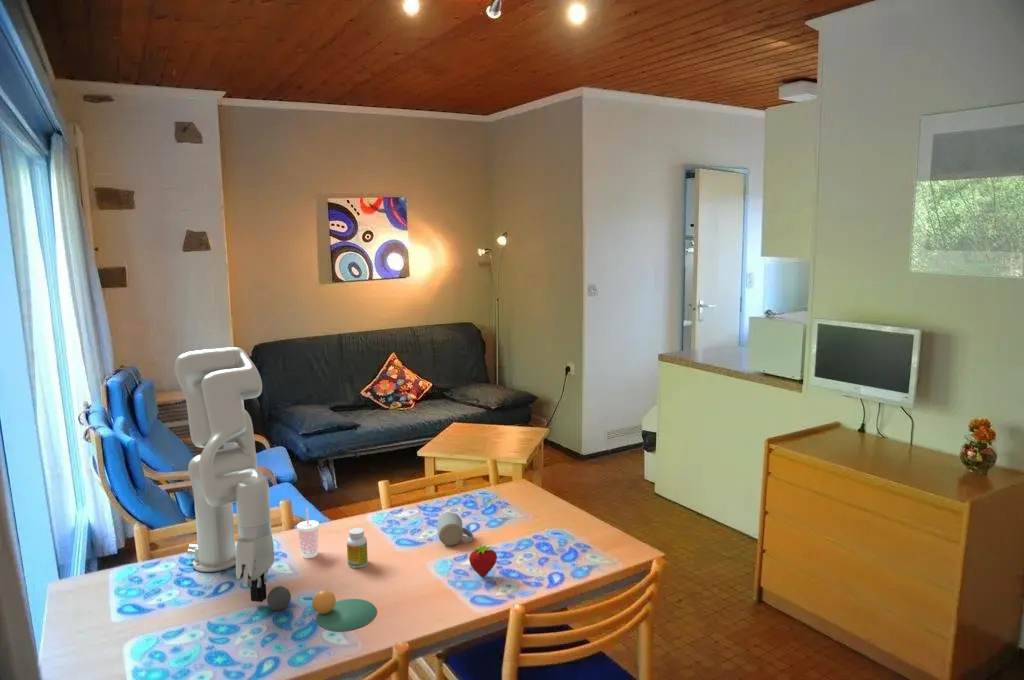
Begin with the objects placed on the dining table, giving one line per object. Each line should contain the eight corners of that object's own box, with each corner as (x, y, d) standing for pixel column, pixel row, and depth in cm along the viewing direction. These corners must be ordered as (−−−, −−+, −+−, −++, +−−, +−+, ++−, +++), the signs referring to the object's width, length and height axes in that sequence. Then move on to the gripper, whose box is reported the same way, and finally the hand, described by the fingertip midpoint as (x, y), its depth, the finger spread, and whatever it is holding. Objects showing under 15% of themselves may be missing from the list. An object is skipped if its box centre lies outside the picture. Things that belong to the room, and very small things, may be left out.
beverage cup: (311, 560, 191) (309, 513, 189) (293, 557, 193) (291, 510, 191) (324, 551, 196) (322, 505, 194) (307, 548, 199) (305, 502, 197)
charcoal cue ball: (278, 593, 162) (285, 614, 162) (291, 580, 167) (298, 600, 168) (259, 595, 163) (266, 616, 164) (272, 583, 168) (279, 603, 169)
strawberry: (499, 580, 180) (499, 544, 178) (471, 584, 177) (471, 548, 176) (494, 570, 185) (493, 535, 184) (467, 573, 183) (466, 538, 182)
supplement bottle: (362, 569, 186) (361, 535, 184) (344, 567, 187) (343, 534, 185) (370, 560, 191) (369, 527, 190) (352, 558, 192) (351, 525, 191)
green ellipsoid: (305, 627, 158) (305, 627, 158) (332, 597, 171) (332, 596, 171) (362, 634, 155) (362, 633, 155) (385, 602, 169) (385, 601, 169)
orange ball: (316, 592, 161) (334, 607, 160) (327, 580, 166) (344, 596, 166) (303, 607, 162) (320, 623, 162) (314, 595, 167) (331, 610, 167)
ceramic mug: (438, 548, 199) (438, 523, 197) (436, 536, 206) (436, 512, 205) (474, 546, 200) (474, 521, 199) (471, 534, 208) (471, 510, 207)
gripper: (257, 515, 172) (261, 583, 175) (222, 541, 158) (226, 614, 160) (284, 517, 171) (288, 586, 174) (251, 543, 156) (256, 617, 159)
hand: (258, 599), depth 167 cm, fingers closed
